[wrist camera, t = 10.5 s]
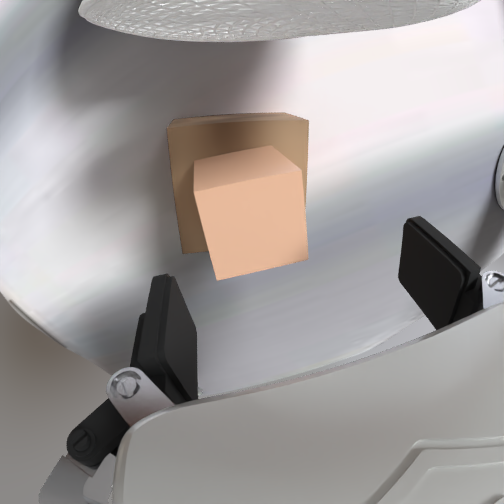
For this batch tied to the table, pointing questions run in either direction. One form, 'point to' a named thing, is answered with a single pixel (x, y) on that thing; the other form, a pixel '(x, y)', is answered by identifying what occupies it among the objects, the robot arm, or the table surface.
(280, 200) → the peach block
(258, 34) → the white toilet model
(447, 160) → the table surface
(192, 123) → the walnut block
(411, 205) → the table surface
